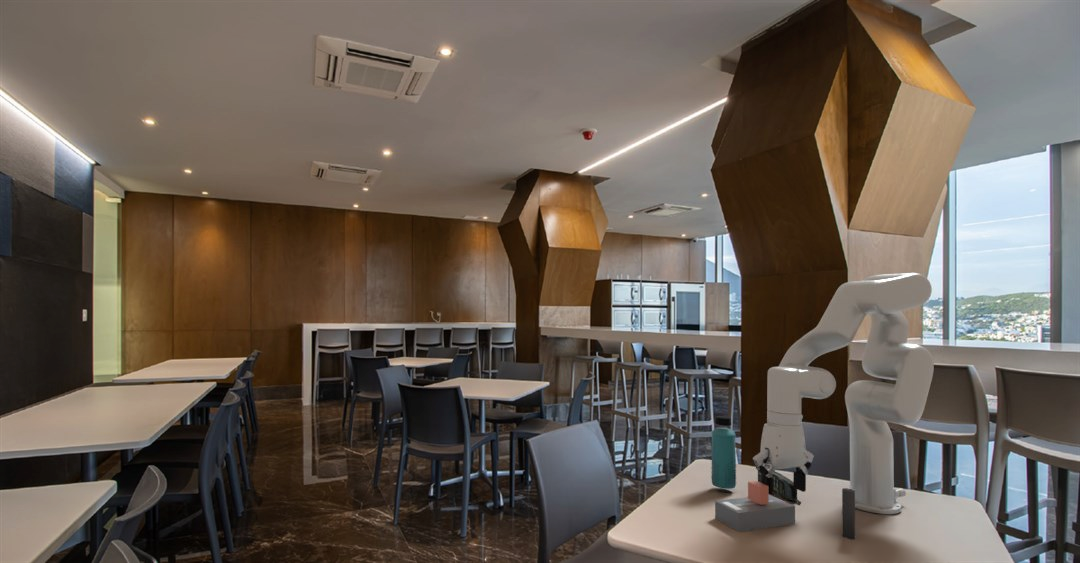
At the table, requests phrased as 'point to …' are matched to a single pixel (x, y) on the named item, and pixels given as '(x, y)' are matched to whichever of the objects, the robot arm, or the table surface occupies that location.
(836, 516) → the table surface
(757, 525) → the box
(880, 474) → the robot arm
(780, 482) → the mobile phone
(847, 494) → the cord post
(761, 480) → the post
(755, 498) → the switch
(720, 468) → the beverage bottle
